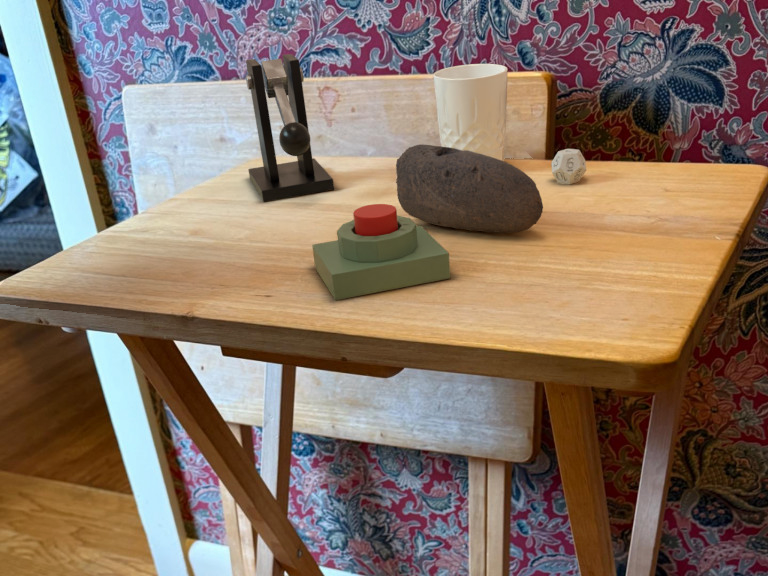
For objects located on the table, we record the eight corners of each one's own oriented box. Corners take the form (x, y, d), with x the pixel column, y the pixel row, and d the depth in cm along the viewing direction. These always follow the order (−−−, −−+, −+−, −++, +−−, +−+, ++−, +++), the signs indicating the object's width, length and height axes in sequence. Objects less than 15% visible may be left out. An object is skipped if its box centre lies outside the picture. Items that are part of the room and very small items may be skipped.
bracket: (334, 189, 98) (318, 61, 91) (263, 202, 97) (241, 72, 89) (315, 168, 106) (299, 48, 99) (250, 179, 105) (228, 58, 97)
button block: (335, 300, 73) (328, 252, 71) (315, 269, 79) (308, 223, 77) (450, 278, 75) (448, 231, 72) (422, 249, 81) (419, 204, 79)
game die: (567, 188, 92) (568, 158, 90) (543, 181, 95) (544, 152, 93) (593, 180, 93) (594, 150, 92) (569, 174, 96) (569, 145, 94)
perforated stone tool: (556, 230, 82) (557, 151, 78) (525, 249, 79) (525, 167, 75) (426, 210, 90) (422, 137, 86) (394, 226, 87) (387, 151, 83)
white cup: (518, 160, 102) (517, 63, 96) (494, 180, 96) (492, 78, 90) (454, 158, 105) (450, 63, 99) (427, 177, 99) (421, 79, 93)
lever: (314, 160, 93) (313, 135, 90) (284, 165, 92) (282, 140, 89) (287, 80, 97) (285, 54, 94) (258, 84, 97) (255, 58, 94)
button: (361, 241, 73) (359, 220, 72) (351, 229, 76) (348, 208, 75) (403, 234, 74) (401, 212, 73) (391, 221, 77) (389, 201, 76)
